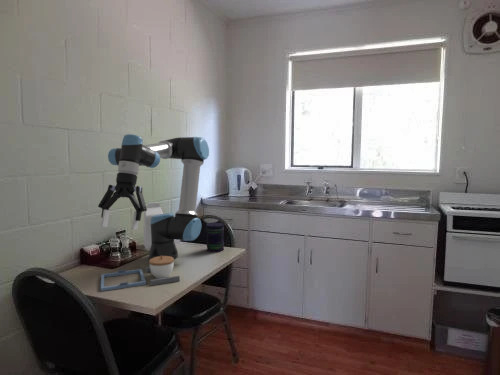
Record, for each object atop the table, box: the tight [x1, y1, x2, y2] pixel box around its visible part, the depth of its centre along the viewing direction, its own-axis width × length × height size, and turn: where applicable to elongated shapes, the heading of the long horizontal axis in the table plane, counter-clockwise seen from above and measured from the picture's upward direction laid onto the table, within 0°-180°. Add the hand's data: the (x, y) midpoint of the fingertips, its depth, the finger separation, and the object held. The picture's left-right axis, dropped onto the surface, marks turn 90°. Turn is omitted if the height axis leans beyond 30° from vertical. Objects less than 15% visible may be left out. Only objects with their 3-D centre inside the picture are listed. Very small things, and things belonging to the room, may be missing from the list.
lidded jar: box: [148, 256, 175, 279], centre depth 152 cm, size 11×11×9 cm
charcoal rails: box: [145, 266, 181, 286], centre depth 153 cm, size 12×18×2 cm, turn 23°
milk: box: [143, 201, 164, 250], centre depth 201 cm, size 12×12×26 cm
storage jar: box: [205, 221, 225, 253], centre depth 192 cm, size 10×10×15 cm
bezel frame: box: [100, 268, 147, 292], centre depth 147 cm, size 17×17×2 cm
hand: (119, 228), depth 129 cm, fingers open, 13 cm apart
